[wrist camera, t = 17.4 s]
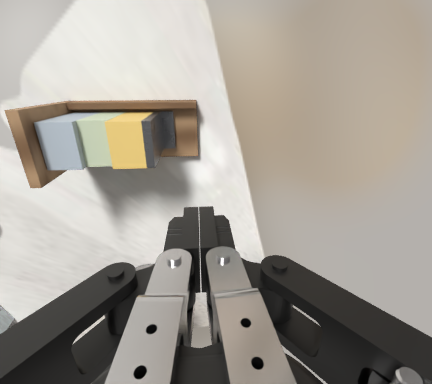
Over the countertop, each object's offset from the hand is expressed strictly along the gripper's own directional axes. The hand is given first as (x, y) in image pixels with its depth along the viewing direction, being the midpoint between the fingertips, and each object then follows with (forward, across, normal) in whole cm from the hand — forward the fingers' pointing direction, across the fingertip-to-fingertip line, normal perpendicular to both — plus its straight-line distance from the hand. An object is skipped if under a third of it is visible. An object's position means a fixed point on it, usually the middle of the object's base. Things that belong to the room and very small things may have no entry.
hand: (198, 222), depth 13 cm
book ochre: (+28, +8, 0) cm, 29 cm away
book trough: (+29, +10, 0) cm, 31 cm away
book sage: (+28, +12, 0) cm, 30 cm away
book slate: (+28, +16, 0) cm, 32 cm away
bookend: (+28, +6, 0) cm, 28 cm away
